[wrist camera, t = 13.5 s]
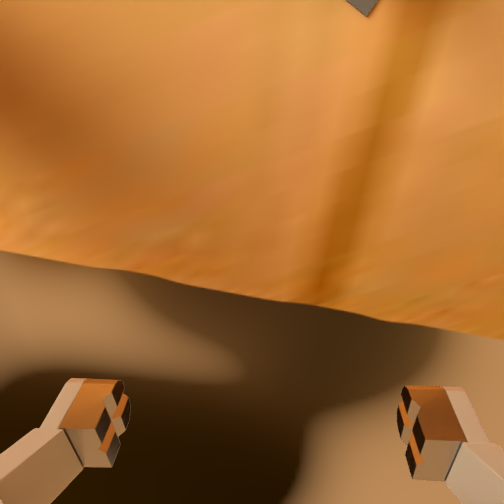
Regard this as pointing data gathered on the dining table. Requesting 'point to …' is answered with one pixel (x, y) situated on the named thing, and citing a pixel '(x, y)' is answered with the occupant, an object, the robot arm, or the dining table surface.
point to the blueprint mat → (363, 5)
